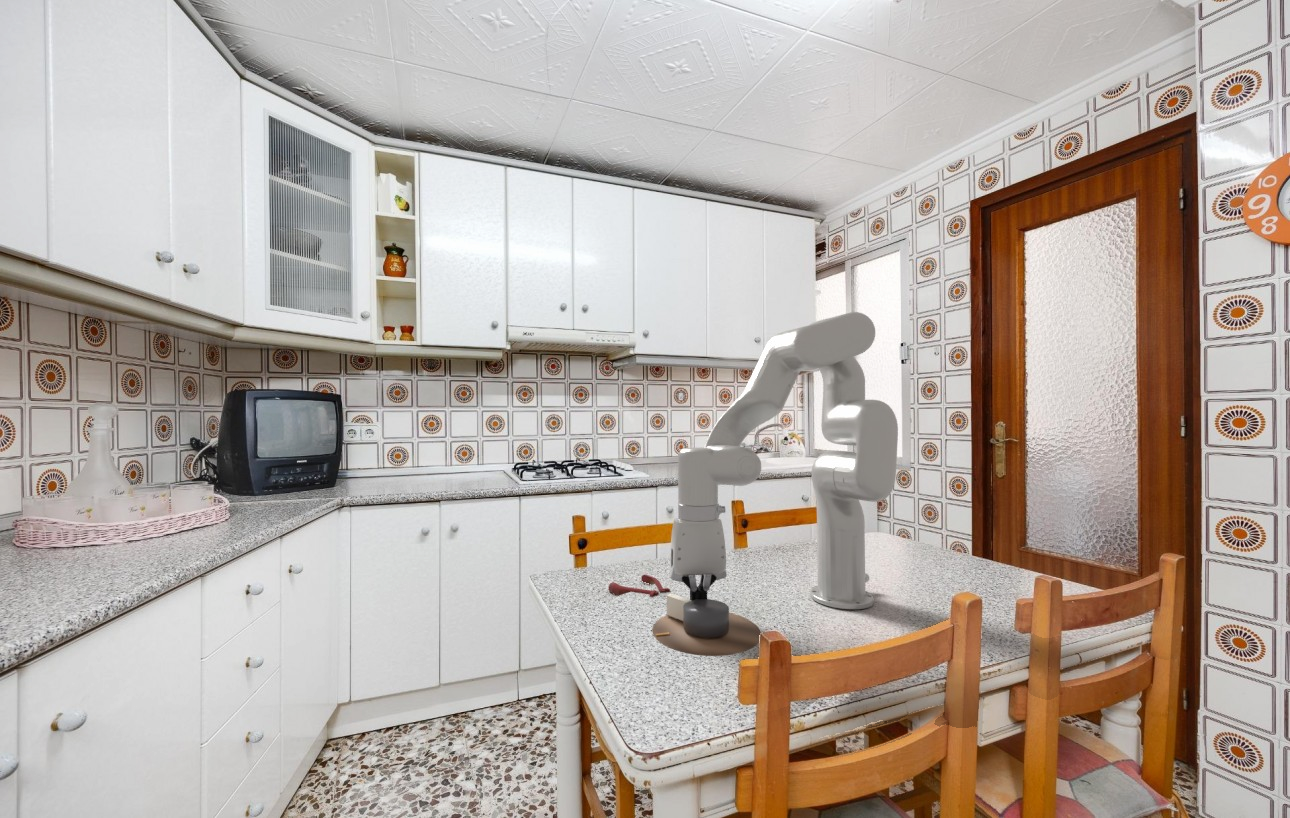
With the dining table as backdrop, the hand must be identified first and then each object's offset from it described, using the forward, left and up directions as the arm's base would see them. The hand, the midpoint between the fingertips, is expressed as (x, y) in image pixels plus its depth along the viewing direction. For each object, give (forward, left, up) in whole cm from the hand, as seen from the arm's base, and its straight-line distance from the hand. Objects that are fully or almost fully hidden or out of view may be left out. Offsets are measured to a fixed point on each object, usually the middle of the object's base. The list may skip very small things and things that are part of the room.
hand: (698, 610), depth 94 cm
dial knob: (+4, +2, -1) cm, 5 cm away
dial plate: (+4, +5, -3) cm, 7 cm away
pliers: (-3, -17, -3) cm, 18 cm away
